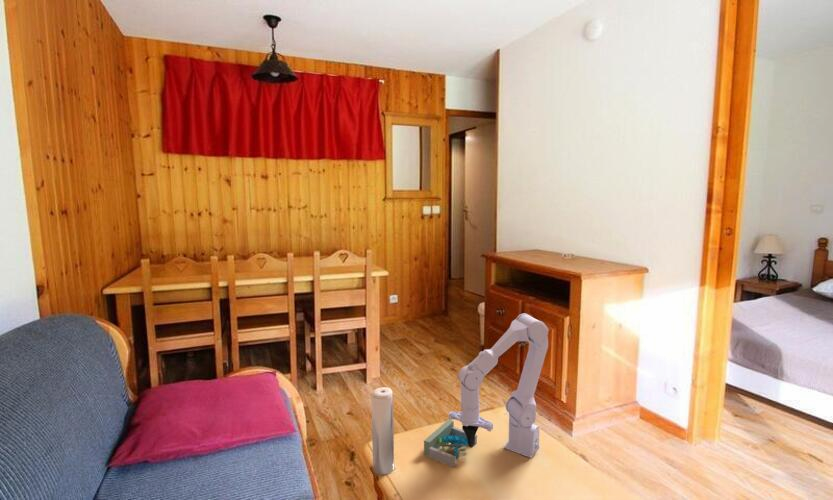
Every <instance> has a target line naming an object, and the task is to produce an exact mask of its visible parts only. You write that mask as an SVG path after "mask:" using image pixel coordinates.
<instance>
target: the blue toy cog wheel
mask: <svg viewBox="0 0 833 500" xmlns="http://www.w3.org/2000/svg"><path fill="white" fill-rule="evenodd" d="M438 443H441V451H443V452H445V447H446V448H454V456H456V458H459V448H460V447H461V446H465V447H467V446H468V439H467V437H466V438H465V439H464V438H463V436H459V437H457V436H456V435H452V436H449V435H447V436H446V437H444V436H443V437H442V438H439V439H438ZM468 447H469V446H468Z"/></svg>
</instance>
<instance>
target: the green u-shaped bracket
mask: <svg viewBox="0 0 833 500" xmlns="http://www.w3.org/2000/svg"><path fill="white" fill-rule="evenodd" d="M454 423H455V422H454V420H453V419H452V420H451V419H447V420H446V421H445V422H444V423H443V424H442V425H440V426H439V427H438V428H437V429H436V430H434V431H433V432H432V433H431V434H429V436H428V437H426V438H425V439H424V440H423V456H425V457H428V458H430V459H433V460H435V461H438V462H440V463H442V464H444V465H447V466H450V467H452V468H455V467H456V466H457V462H456V461H457V457H456V456H455V455H453V454H451V453H448V452H446V451H444V452H443V451H442V449H440V448H442V446H441V443H438V439H439V438H442V437H443V436H444V437H446V436H447V435H449V436H451V437H452V435H456V436H457V437H459V436H463V438H464V439H465V438H466V437H467V436H466V434H465V432H464V431H463V429H462V428H459V427H456V426H455V425H454ZM477 443H478V435H477V434H475V444H474V445H473V446H476V445H477Z"/></svg>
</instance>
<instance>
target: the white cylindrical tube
mask: <svg viewBox="0 0 833 500" xmlns="http://www.w3.org/2000/svg"><path fill="white" fill-rule="evenodd" d="M370 398H371V433H372V435H371V438H372V439H371V442H372V471H373V473H375V474H377V475H379V476H386V475H389V474H391V473H393V471H394V469H395V441H394V439H395V437H394V435H395V433H394V432H395V431H394V430H395V429H394V424H395V423H394V393H393V390H392V388H390V387H386V386H385V387H384V386H383V387H378V388H377V387H376V389H374V390H373V393H372V394H371V397H370Z"/></svg>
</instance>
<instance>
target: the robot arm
mask: <svg viewBox="0 0 833 500" xmlns="http://www.w3.org/2000/svg"><path fill="white" fill-rule="evenodd" d="M549 331H550V329H549V328H548V327H547V325H546V324H545V322H543V321H541V320H538V319H536V318H534V317H533V316H530V314H528V313H521V314H519V315H518V316H517V317H516V318H515V319H514V320H512V321H511V323H510V326H509V328H507V330H506V331H505V332H504V334H502V336H500V338H499V339H498V340H497V341H496V342H495V344H494V345H493V346H492V347H491V348H489V349H487V348H486V349H484V350H483V351H482V350H480V352H479V353H478V356H476V357H475V358H474V359H473V360H472V361H471V362H469V363H468V364H467V365H465V366H463V367H461V368H460V370H459V372H458V374H457V379H458V380H459V382H460V411H454V410H451V411H450V412H449V413H448V420H452V421H453V420H456V421H458V422H460V423H461V425H462V427H461V429H462V430H463V431H464V432H465V434H466V436H467V439H468V447H469V448H473V446H475V445H474V444H475V434H476V433H477V432H478V430H479V428H481V429H484V430H486V431H487V432H492V430H493V429H494V422H491V421H488V420H487V419H485V418H483V417H482V416H480V387H481V386H482V384H483V380H484V379H485V377H486V375H487V374H488V373H489V372H490V371H491V370H493V368H495V367H496V366H497V364H499V363H498V362H499V360H498V359H499V357H500V356H502V355H503V354H505V352H507V351H508V350H509V349H510V348H511V347H512V346H513V345H515V344H516V343H517V342H528V344H529V348H528V351H527V353H526V354H527V355H526V358H525V361H524V363H523V364H524V365H523V369H522V372H521V374H520V378H519V382H518V385H517V389H516V390H514V391H512V392H511V394H510V397H509V398H508V399H507V400H506V402H505V410H506V412H507V413H508V441H507V442H506V443H505V444H504V445H503V448H504V449H506V450H509V451H511V452H513V453H516V454H519V455H523V456H525V457H528V458H530V459H531V458H533V456H534V455H535V454H536V452H537V450H538V449H539V447H540V427H539V426H538V425H536V424H534V423H535V422H536V419H537V412H536V411H537V407H538V406H537V404H536V403H537V402H536V400H535V392H536V390H537V387H538V382H539V379H540V376H541V372H542V369H543V366H544V363H545V359H546V354H547V352H548V349H549V338H548V335H549ZM476 435H477V434H476Z"/></svg>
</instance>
